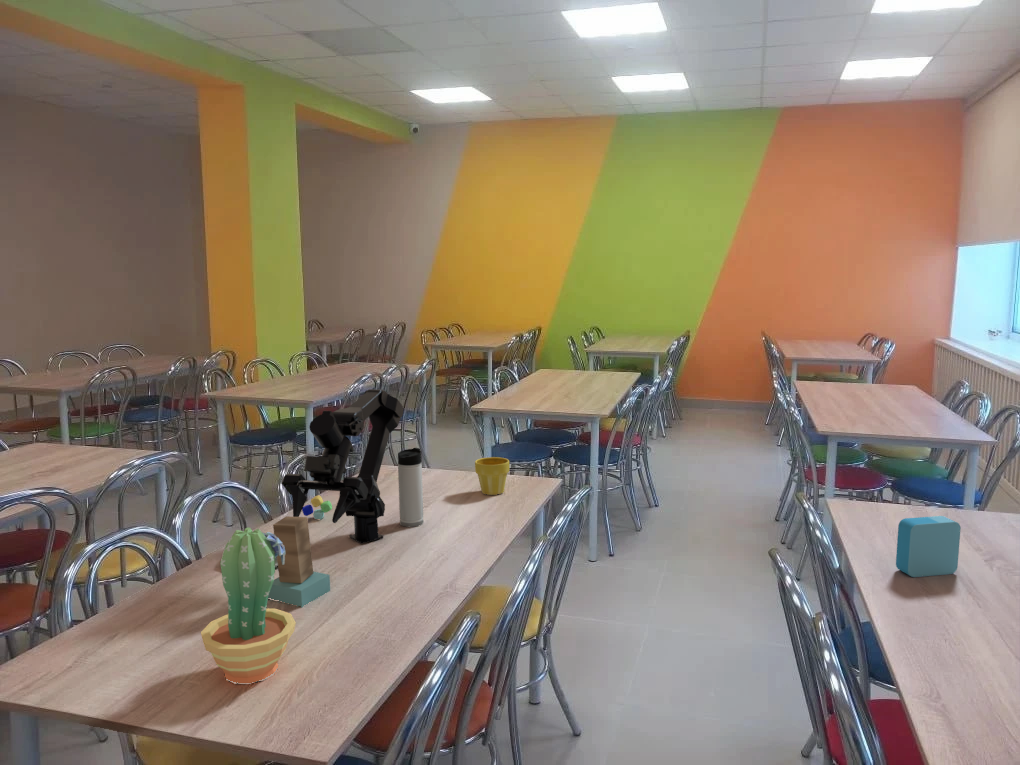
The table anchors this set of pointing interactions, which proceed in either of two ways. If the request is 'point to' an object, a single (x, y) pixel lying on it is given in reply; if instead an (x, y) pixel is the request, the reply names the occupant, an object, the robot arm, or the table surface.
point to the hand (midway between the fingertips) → (314, 520)
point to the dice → (317, 502)
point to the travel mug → (410, 487)
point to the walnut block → (294, 549)
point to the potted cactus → (249, 610)
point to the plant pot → (492, 474)
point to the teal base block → (300, 589)
